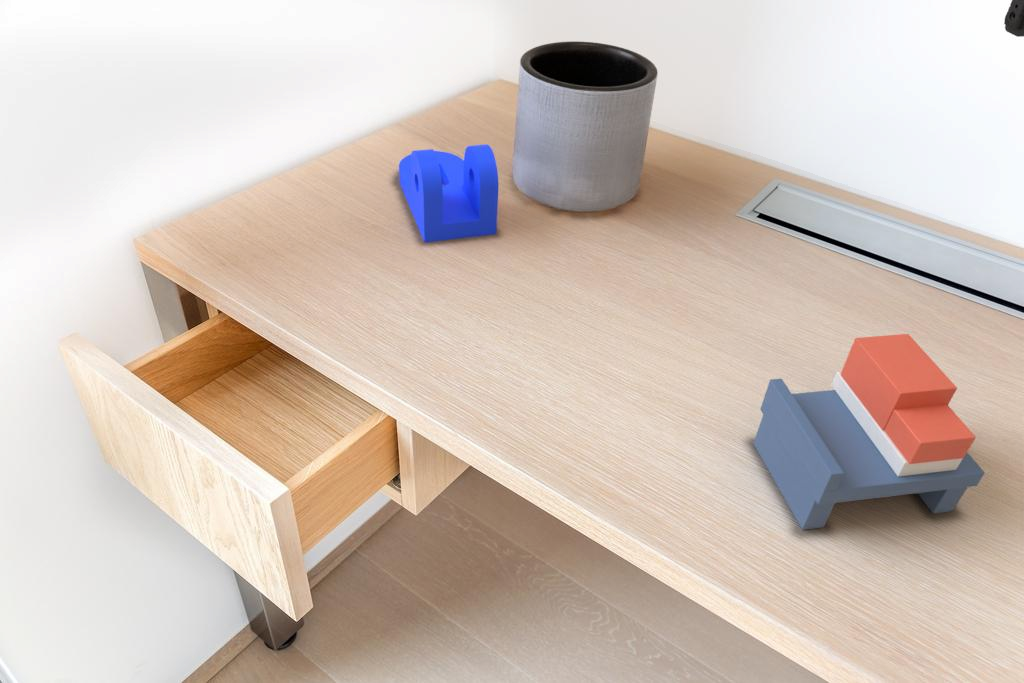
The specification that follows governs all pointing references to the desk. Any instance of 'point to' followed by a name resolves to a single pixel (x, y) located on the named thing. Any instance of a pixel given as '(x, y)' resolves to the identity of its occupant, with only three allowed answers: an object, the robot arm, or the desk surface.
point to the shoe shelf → (839, 458)
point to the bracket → (451, 192)
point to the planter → (582, 125)
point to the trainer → (903, 404)
